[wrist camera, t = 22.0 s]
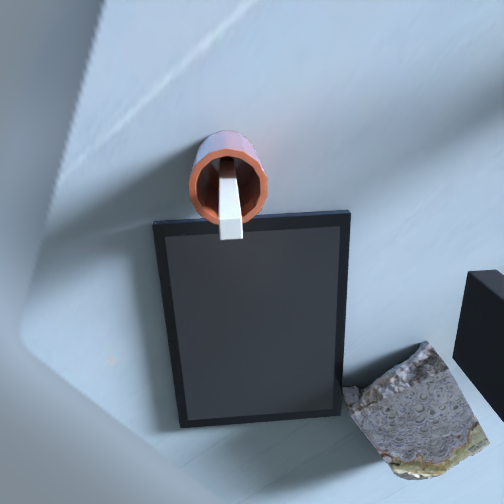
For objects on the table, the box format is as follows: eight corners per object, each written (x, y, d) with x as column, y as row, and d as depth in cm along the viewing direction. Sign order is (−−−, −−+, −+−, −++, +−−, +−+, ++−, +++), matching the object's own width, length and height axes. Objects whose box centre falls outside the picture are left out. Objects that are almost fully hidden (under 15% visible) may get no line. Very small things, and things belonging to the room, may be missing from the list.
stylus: (220, 171, 38) (220, 240, 23) (219, 157, 37) (218, 218, 23) (234, 171, 38) (242, 239, 23) (233, 157, 37) (241, 217, 23)
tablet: (180, 421, 50) (180, 429, 49) (153, 221, 40) (151, 225, 39) (338, 409, 50) (340, 416, 49) (348, 209, 41) (351, 213, 40)
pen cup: (198, 194, 39) (192, 229, 31) (193, 131, 37) (184, 150, 29) (258, 191, 40) (268, 224, 31) (256, 128, 37) (266, 146, 29)
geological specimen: (444, 359, 42) (502, 457, 47) (417, 328, 48) (472, 418, 53) (348, 414, 44) (414, 503, 48) (333, 377, 49) (394, 460, 54)
